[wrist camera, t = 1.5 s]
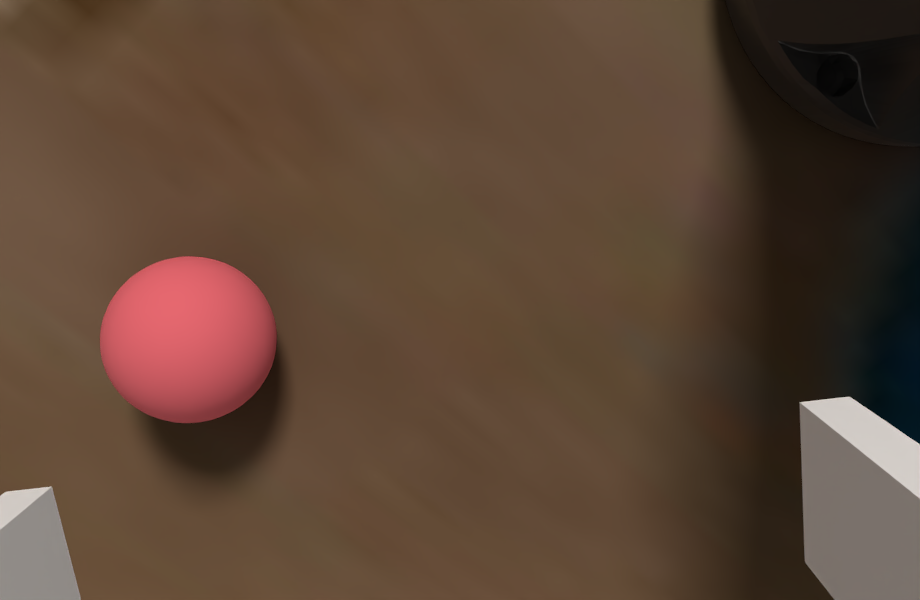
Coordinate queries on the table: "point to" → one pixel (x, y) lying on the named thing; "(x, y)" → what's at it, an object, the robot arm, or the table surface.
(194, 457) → the table surface
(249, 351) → the ball
